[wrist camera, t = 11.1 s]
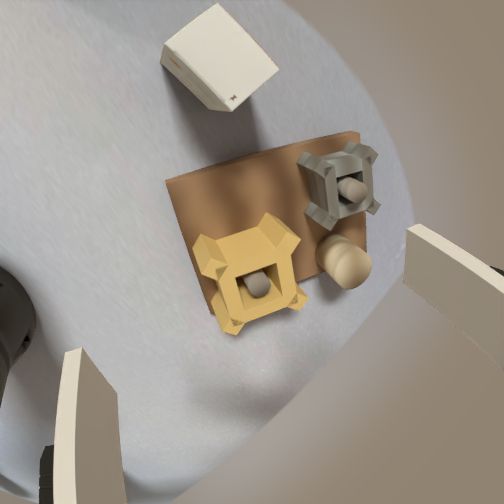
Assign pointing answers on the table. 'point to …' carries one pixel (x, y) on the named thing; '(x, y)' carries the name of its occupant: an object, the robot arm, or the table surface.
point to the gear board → (286, 206)
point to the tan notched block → (247, 260)
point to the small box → (217, 60)
